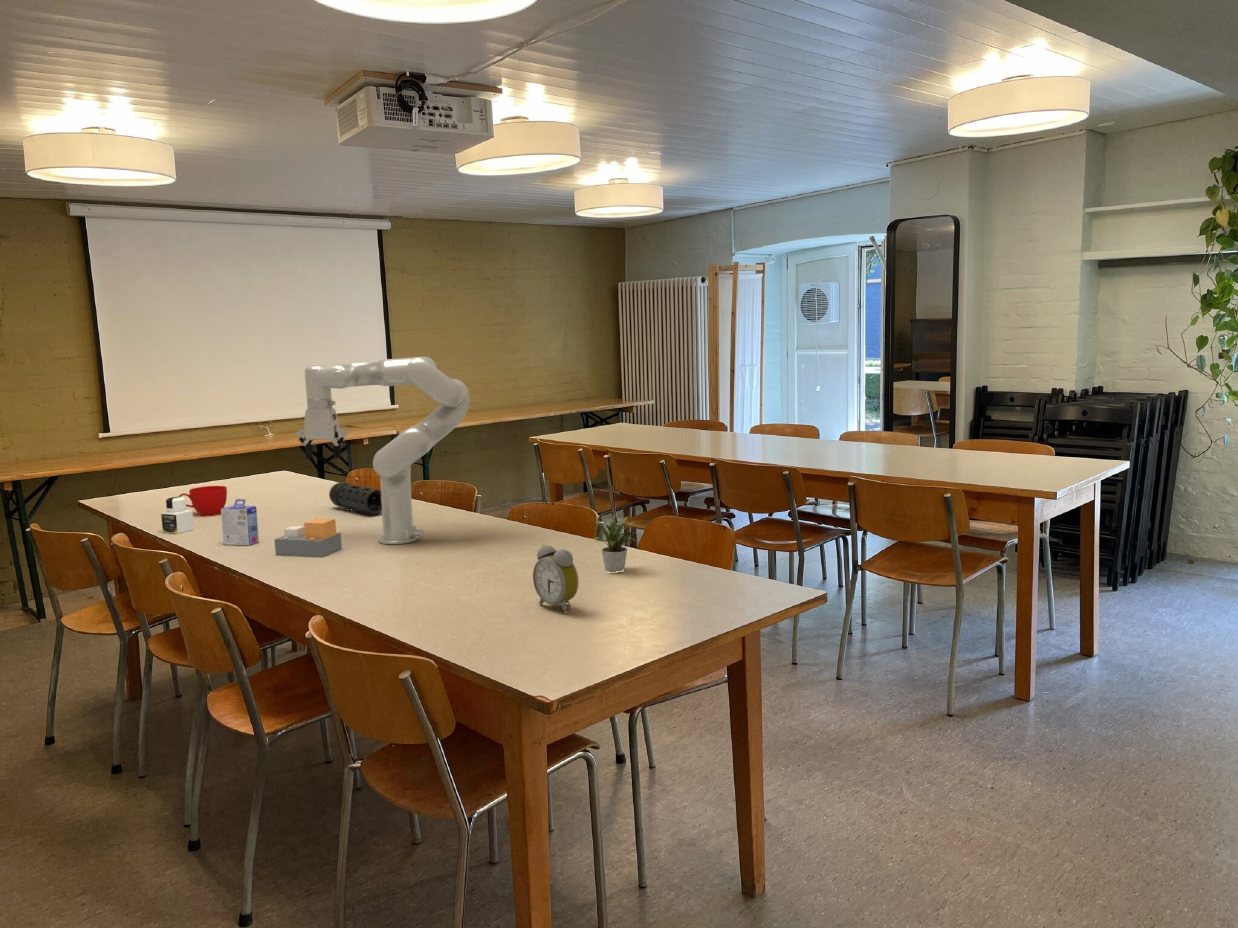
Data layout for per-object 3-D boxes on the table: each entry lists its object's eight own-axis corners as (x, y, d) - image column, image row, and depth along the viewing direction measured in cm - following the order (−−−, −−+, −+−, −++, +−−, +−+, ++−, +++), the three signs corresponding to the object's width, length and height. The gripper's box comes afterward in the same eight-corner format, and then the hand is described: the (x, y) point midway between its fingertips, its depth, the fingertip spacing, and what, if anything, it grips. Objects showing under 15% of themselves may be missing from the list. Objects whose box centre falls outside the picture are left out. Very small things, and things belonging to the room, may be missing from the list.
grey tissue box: (341, 548, 273) (340, 531, 272) (322, 557, 263) (320, 539, 262) (296, 546, 277) (295, 529, 276) (275, 555, 266) (274, 537, 265)
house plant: (592, 580, 231) (590, 521, 229) (580, 567, 245) (578, 511, 242) (642, 575, 235) (642, 517, 233) (628, 563, 248) (627, 507, 246)
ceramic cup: (180, 513, 334) (178, 488, 332) (228, 509, 341) (226, 484, 339) (179, 520, 322) (176, 493, 321) (229, 515, 329) (226, 489, 328)
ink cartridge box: (260, 542, 284) (256, 498, 282) (249, 546, 279) (246, 502, 277) (233, 541, 286) (229, 498, 284) (222, 545, 281) (218, 501, 279)
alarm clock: (532, 605, 211) (530, 545, 209) (553, 599, 216) (552, 540, 213) (563, 615, 203) (562, 553, 200) (585, 609, 207) (583, 548, 205)
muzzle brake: (366, 518, 319) (364, 491, 318) (327, 509, 338) (326, 483, 337) (388, 514, 326) (386, 487, 324) (350, 505, 345) (348, 480, 343)
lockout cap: (336, 534, 270) (335, 518, 270) (324, 539, 264) (323, 523, 263) (317, 533, 272) (316, 518, 271) (305, 538, 265) (304, 522, 265)
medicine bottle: (162, 532, 301) (159, 498, 299) (179, 528, 308) (176, 495, 306) (177, 534, 298) (174, 500, 297) (194, 529, 305) (191, 496, 303)
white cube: (305, 538, 272) (304, 526, 271) (297, 542, 268) (296, 529, 267) (293, 538, 273) (292, 525, 272) (285, 541, 269) (284, 529, 268)
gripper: (350, 403, 277) (354, 456, 279) (301, 404, 280) (305, 456, 283) (338, 405, 270) (342, 459, 272) (288, 405, 273) (292, 459, 275)
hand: (323, 457), depth 277 cm, fingers open, 9 cm apart
